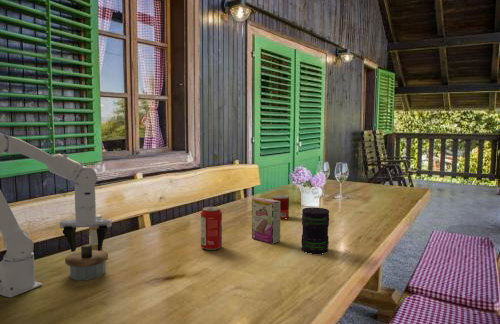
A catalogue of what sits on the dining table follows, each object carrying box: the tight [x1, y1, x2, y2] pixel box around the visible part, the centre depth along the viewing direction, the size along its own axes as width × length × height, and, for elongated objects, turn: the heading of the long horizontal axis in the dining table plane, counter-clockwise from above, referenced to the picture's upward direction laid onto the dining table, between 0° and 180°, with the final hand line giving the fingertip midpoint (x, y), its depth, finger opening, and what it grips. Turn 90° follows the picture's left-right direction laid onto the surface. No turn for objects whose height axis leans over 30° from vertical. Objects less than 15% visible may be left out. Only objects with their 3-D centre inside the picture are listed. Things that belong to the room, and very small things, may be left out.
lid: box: [64, 244, 109, 267], centre depth 120 cm, size 12×12×5 cm
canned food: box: [272, 194, 290, 220], centre depth 193 cm, size 8×8×11 cm
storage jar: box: [300, 206, 330, 255], centre depth 143 cm, size 10×10×15 cm
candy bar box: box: [251, 197, 281, 245], centre depth 155 cm, size 11×5×16 cm, turn 47°
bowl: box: [68, 261, 107, 281], centre depth 120 cm, size 10×10×4 cm
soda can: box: [200, 206, 223, 251], centre depth 146 cm, size 8×8×15 cm
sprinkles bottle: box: [88, 213, 104, 251], centre depth 140 cm, size 5×5×13 cm
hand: (86, 250), depth 120 cm, fingers open, 7 cm apart
